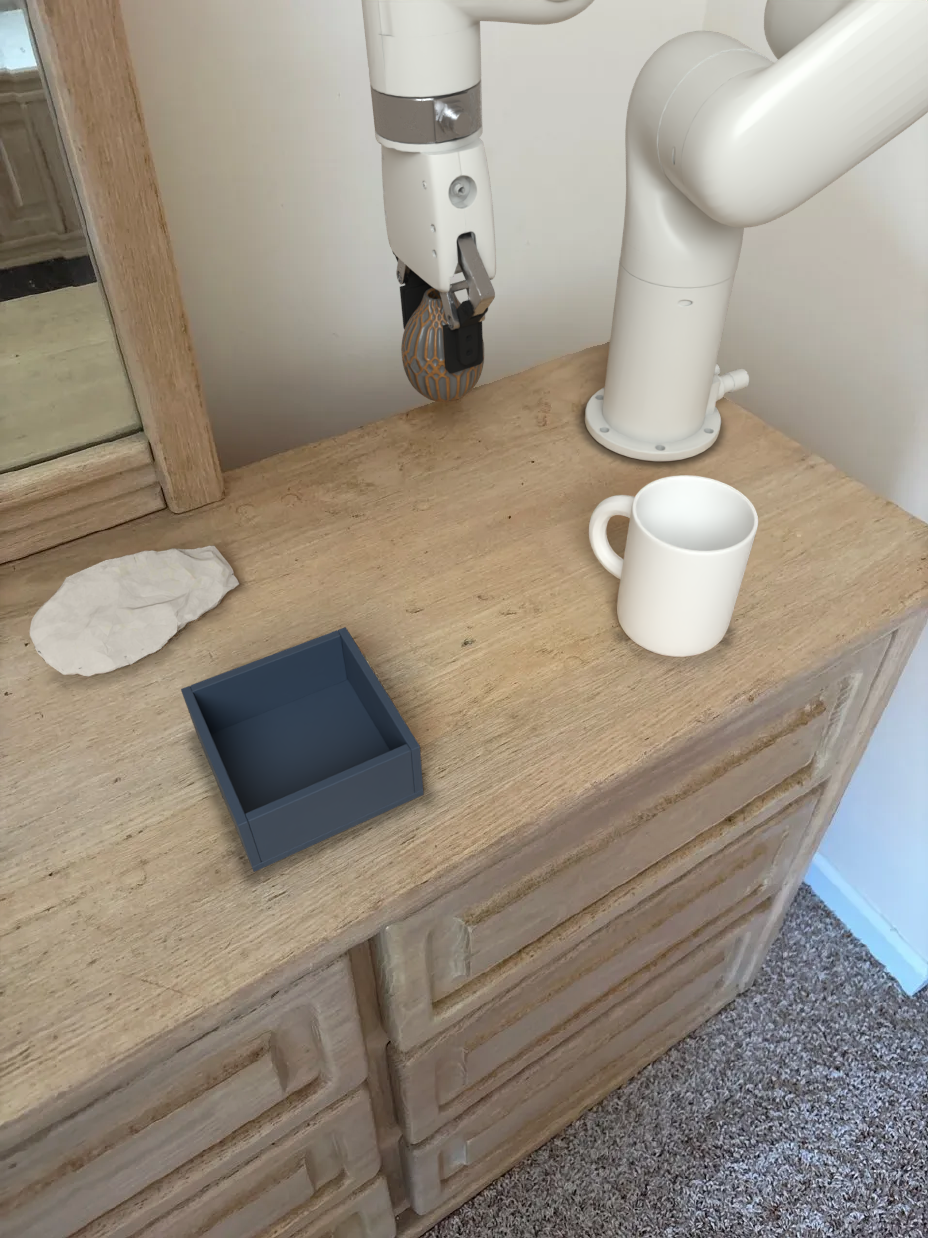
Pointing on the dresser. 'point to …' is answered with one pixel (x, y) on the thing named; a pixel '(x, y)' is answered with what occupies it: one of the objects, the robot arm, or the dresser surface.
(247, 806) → the bin
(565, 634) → the dresser surface
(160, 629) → the stone tool
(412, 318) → the vase
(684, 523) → the mug
